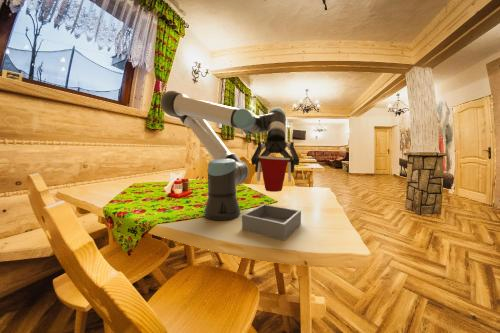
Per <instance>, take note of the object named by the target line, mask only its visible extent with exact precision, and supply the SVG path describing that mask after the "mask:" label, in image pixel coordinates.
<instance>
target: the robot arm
mask: <svg viewBox="0 0 500 333" xmlns="http://www.w3.org/2000/svg"><path fill="white" fill-rule="evenodd" d="M160 107H161V109H162V110H163V112H164V113H165V114H167V115H168V116H170V117H173V118H176V119H177V118H178V119H179V120H180V122H182V124H183V125H184V127H187V128H190V129H191V131H192V133H193V134H194V135H195V137H196V138H197V139H198V140H199V142H200V143H201V145H202V146H203V147H204V148H205V149H206V151H207V152H208V154H209V155H210V156H211V158H212V160H210V161H209V162H208V163H207V170H206V171H207V196H208V197H207V200H206V204H205V208H204V210H203V212H204V214H203V215H204V218H206V219H208V220H210V221H229V220H233V219H236V218H238V217H239V216H241V208H240V205H239V201H238V198H237V185H241V184H243V182H245V181H246V180H247V178H248V176H249V171H250V170H249V167H248V164H247V163H246V162H245V161H243V160H241V159H240V158H239V157H238V155H236V153H234V152H230V150H229V149H228V147H226V145H225V144H224V142H223V141H222V139H220V137H219V135H218V134H216V132H215V131H214V129H213V128H212V127H211V125H210V124H209V123H208V122H212V123H217V124H220V125H225V126H228V127H232V128H235V129H240V130H242V131H243V133H244V135H254V134H259V133H265V132H267V135H266V141H265V143H262V142H258V143H257V147H256V149H255V151H254V152H253V155H252V156H251V158H250V161H251V165H253V166H255V167H254V172H255V173H256V180H257V182H260V181H261V176H262V175H261V174H262V173H261V172H262V167H261V162H260V158H259V156H270V155H271V154H280V155H281V156H282V157H283V158H290V160H289V161H288V164H287V167H288V169H287V171H288V172H287V173H288V176H287V178H288V179H287V180H288V183H291V182H292V180H291V179H292V174H293V173H295V166H299V165H300V158H299V155H298V153H297V151H296V148H295V147H294V145H295V143H294V141H291V142H289V143H287V141H286V135H287V131H286V124H287V123H286V121H287V119H286V118H287V117H286V116H287V115H286V111H284V109H283V108H281V107H274V108H272V109H271V110H270V111H269V113H266V114H262V115H257V114H255V113H254V112H252V111H251V110H250V109H247V108H244V107H243V108H237V107H233V106H228V105H224V104H219V103H215V102H210V101H205V100H200V99H196V98H193V97H190V96H188V95H186V94H184V93H181V92H179V91H176V90H169V91H166V92H164V93H163V94H162V95H161V98H160ZM264 148H265V149H264ZM286 148H288V150H289V152H290V154H289V152H288V151H287V150H286ZM262 150H264V151H263V152H262Z"/></svg>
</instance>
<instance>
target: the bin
mask: <svg viewBox="0 0 500 333" xmlns="http://www.w3.org/2000/svg"><path fill="white" fill-rule="evenodd" d="M301 224H302V210H299V209H293V208H288V207H282V206H275V205H270V204H265V203H264V204H261V205H259V206H257V207H255V208H253V209H251V210H248V211H247V212H246V213H242V215H241V229H242V230H245V231H248V232H252V233H256V234H259V235H262V236H267V237H270V238H274V239H277V240H280V241H286V240H287V239H288V238H289V237H290V236H291V235H292V234H293V232H294V231H295V230H296V229H297V228H299V226H301Z"/></svg>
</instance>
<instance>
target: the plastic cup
mask: <svg viewBox="0 0 500 333" xmlns="http://www.w3.org/2000/svg"><path fill="white" fill-rule="evenodd" d="M259 158H260V162H261V172H262V173H261V174H262V178H263V179H262V180H263V184H264V189H265V191H266V192H271V193H276V192H281V191H282V190H283V187H284V181H285V176H286V172H287V167H288V161H289V160H290V158H284V157H283V156H282V157H281V156H270V155H268V156H260V155H259Z"/></svg>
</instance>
